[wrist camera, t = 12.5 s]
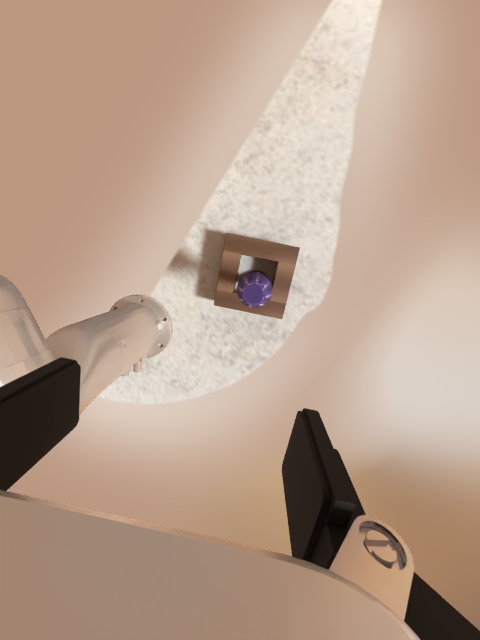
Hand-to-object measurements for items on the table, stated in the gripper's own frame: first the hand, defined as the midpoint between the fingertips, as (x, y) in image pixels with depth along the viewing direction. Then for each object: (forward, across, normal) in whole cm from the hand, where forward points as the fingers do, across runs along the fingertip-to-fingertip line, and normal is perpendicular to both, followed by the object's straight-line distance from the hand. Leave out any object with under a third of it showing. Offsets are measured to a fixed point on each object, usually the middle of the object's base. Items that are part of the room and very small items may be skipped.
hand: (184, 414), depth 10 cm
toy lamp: (+36, -2, -3) cm, 37 cm away
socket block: (+36, -2, -4) cm, 37 cm away
